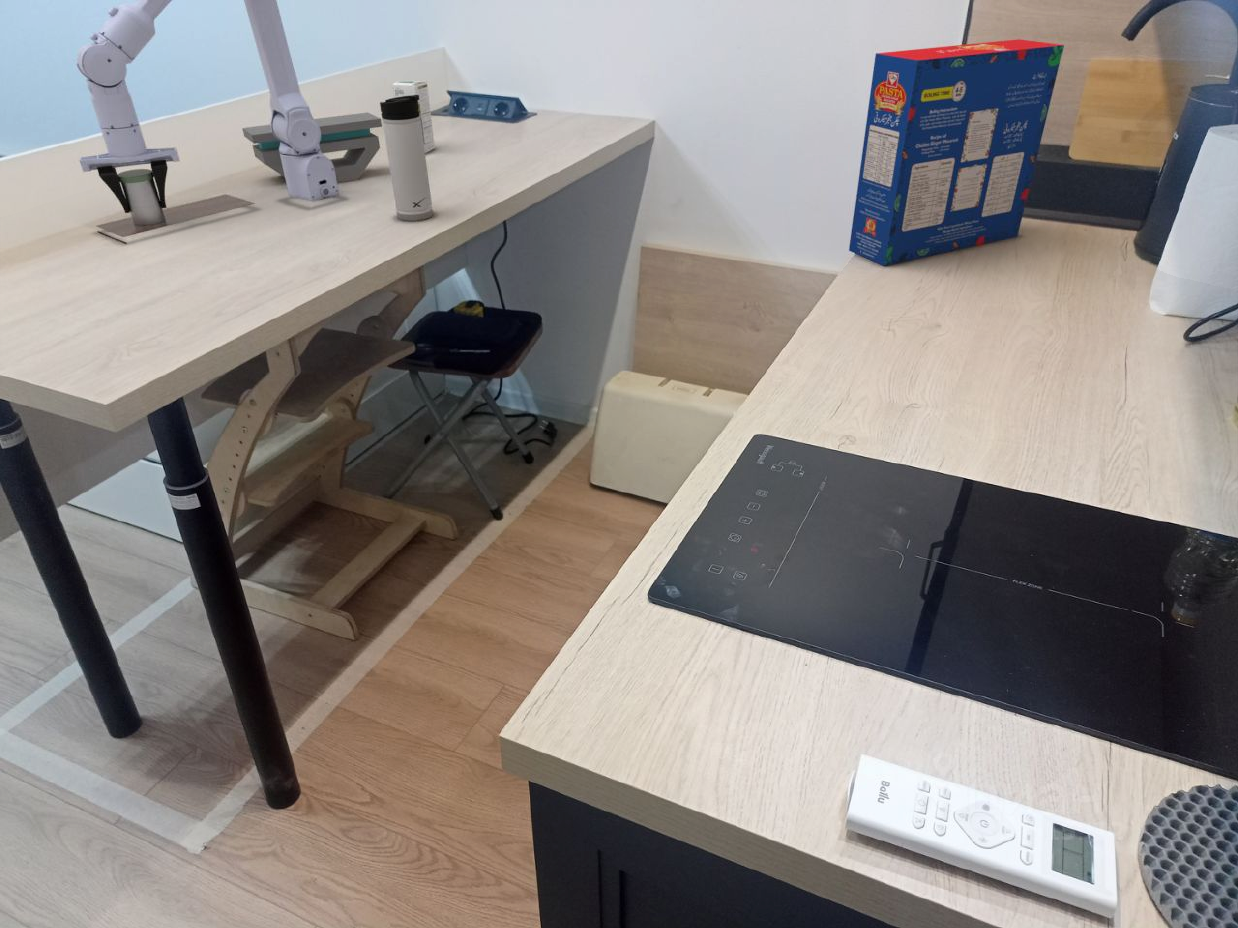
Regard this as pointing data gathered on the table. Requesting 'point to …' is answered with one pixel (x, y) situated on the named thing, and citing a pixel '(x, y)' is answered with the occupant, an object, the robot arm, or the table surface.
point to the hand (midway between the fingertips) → (146, 209)
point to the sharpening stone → (327, 143)
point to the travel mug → (407, 157)
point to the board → (176, 215)
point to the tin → (142, 196)
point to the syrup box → (424, 107)
